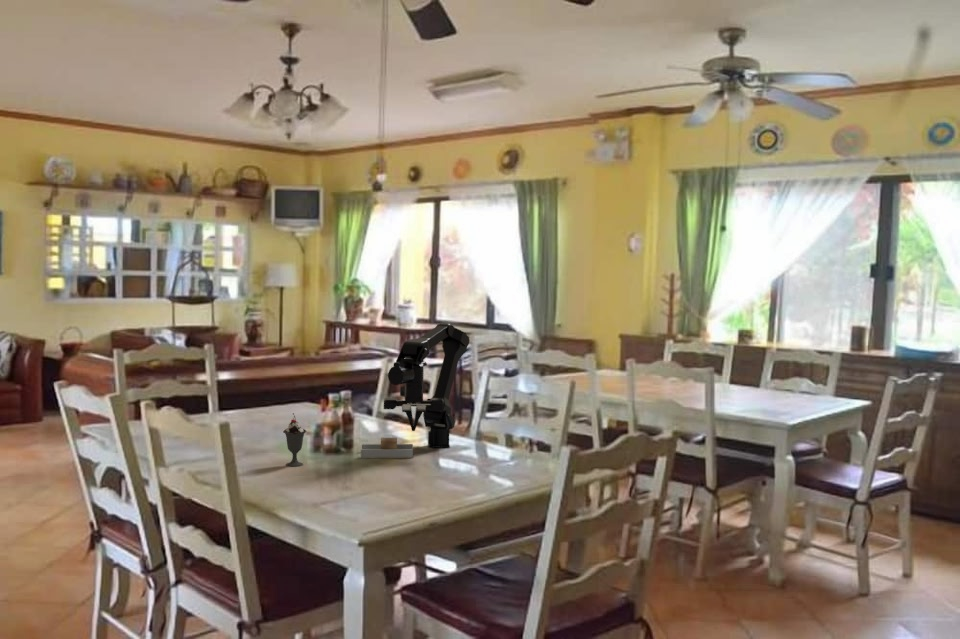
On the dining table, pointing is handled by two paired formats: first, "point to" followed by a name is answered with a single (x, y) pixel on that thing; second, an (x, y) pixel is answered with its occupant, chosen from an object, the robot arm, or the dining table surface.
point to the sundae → (294, 441)
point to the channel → (386, 451)
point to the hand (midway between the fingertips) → (413, 430)
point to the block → (388, 443)
